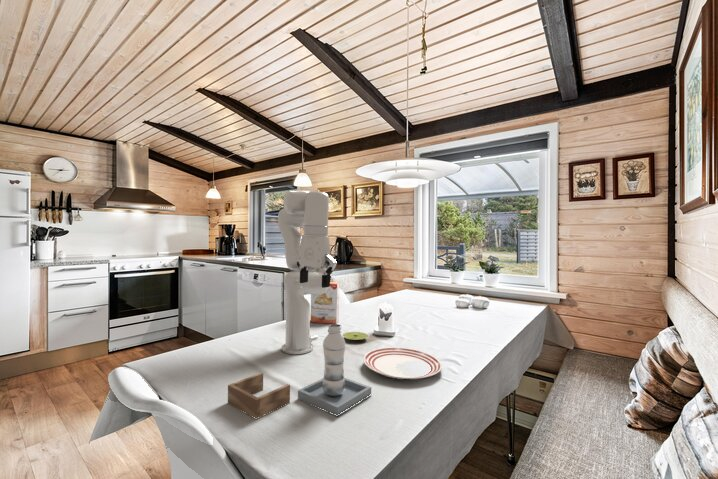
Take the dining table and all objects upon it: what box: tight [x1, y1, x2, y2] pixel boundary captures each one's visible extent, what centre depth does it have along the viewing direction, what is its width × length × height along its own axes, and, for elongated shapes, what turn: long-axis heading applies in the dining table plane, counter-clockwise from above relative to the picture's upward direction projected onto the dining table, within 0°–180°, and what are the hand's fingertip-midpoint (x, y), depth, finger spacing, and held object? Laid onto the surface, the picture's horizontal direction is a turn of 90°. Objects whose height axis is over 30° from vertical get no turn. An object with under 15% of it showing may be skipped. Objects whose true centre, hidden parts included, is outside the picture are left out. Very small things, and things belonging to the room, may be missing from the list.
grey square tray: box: [297, 377, 372, 415], centre depth 100 cm, size 15×15×2 cm
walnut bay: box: [227, 372, 291, 419], centre depth 96 cm, size 11×13×5 cm
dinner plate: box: [362, 346, 443, 380], centre depth 122 cm, size 28×27×3 cm
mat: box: [342, 331, 369, 341], centre depth 153 cm, size 11×11×2 cm
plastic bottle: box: [322, 323, 346, 396], centre depth 100 cm, size 6×7×20 cm
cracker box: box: [310, 281, 340, 324], centre depth 180 cm, size 14×6×21 cm, turn 81°
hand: (314, 284), depth 111 cm, fingers open, 9 cm apart
